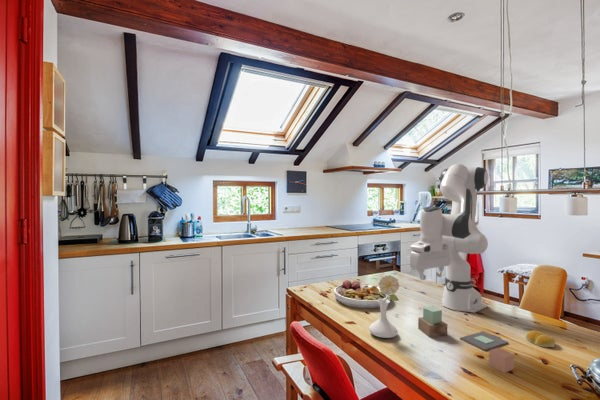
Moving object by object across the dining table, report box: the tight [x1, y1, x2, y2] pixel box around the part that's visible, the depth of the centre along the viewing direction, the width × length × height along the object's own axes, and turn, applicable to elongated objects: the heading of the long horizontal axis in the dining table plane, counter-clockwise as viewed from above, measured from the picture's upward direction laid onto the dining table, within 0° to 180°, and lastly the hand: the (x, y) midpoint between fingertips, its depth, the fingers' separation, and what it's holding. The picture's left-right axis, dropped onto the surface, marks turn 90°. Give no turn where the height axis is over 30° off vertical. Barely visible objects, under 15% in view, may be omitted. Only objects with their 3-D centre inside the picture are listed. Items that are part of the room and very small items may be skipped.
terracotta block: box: [488, 346, 515, 374], centre depth 101 cm, size 5×5×5 cm
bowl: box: [333, 279, 391, 309], centre depth 165 cm, size 30×30×8 cm
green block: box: [422, 305, 443, 324], centre depth 126 cm, size 5×5×5 cm
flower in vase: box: [368, 274, 401, 339], centre depth 123 cm, size 13×11×25 cm
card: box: [459, 331, 509, 352], centre depth 119 cm, size 14×10×1 cm
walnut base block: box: [417, 316, 448, 338], centre depth 126 cm, size 8×8×5 cm
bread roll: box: [525, 329, 556, 348], centre depth 118 cm, size 8×9×4 cm
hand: (430, 278), depth 128 cm, fingers open, 8 cm apart
